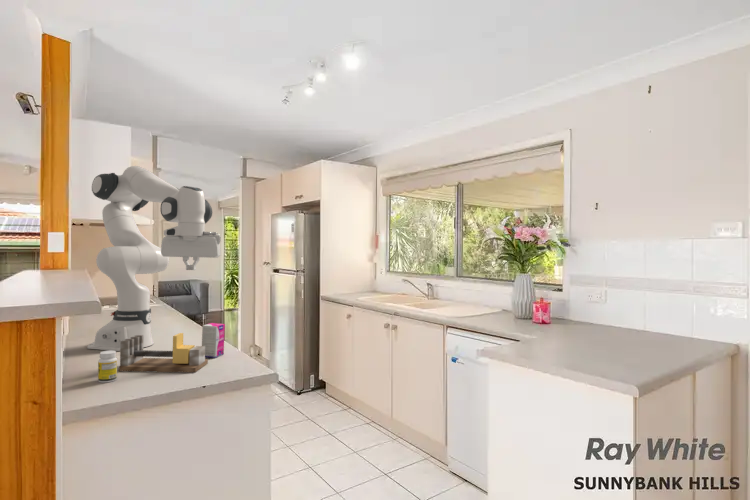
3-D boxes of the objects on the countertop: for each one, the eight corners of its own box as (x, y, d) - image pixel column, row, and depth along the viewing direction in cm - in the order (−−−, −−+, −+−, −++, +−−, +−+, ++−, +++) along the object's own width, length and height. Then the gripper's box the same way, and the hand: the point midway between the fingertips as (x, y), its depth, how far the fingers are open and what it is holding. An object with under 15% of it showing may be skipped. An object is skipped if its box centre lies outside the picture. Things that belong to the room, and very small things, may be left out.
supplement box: (215, 358, 150) (216, 326, 150) (200, 357, 151) (201, 325, 151) (224, 354, 155) (225, 323, 155) (210, 353, 157) (210, 322, 156)
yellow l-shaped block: (172, 363, 136) (172, 336, 136) (179, 359, 140) (179, 333, 140) (188, 363, 136) (188, 336, 136) (194, 359, 140) (194, 333, 140)
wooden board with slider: (119, 371, 133) (119, 341, 133) (136, 362, 143) (137, 334, 143) (195, 372, 133) (195, 342, 133) (207, 363, 143) (208, 335, 143)
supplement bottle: (100, 378, 125) (100, 350, 125) (118, 377, 127) (119, 349, 127) (96, 383, 121) (96, 354, 121) (115, 382, 123) (115, 353, 122)
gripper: (223, 232, 155) (222, 270, 155) (167, 231, 155) (167, 268, 155) (217, 231, 148) (216, 271, 149) (159, 230, 148) (158, 269, 148)
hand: (190, 269), depth 152 cm, fingers closed
